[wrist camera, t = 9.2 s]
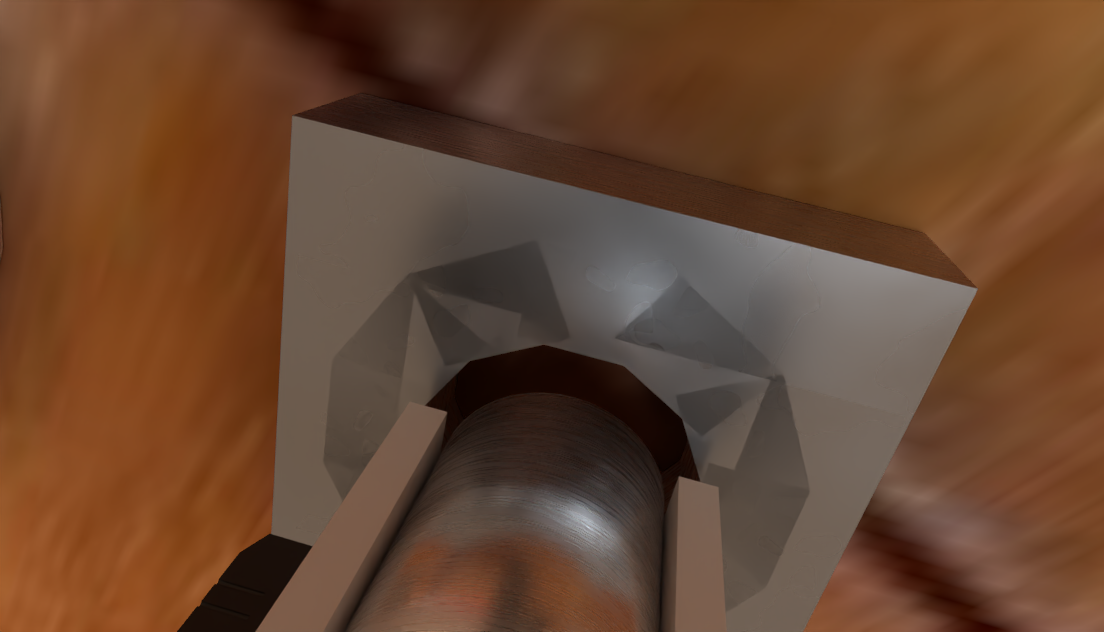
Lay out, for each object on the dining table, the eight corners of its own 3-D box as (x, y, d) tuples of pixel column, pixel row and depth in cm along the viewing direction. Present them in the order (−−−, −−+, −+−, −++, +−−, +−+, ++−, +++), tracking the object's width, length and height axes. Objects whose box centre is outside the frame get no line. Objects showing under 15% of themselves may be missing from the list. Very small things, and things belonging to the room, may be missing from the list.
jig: (361, 92, 16) (291, 115, 13) (925, 233, 15) (977, 288, 12) (322, 520, 21) (268, 600, 18) (738, 641, 20) (745, 743, 17)
